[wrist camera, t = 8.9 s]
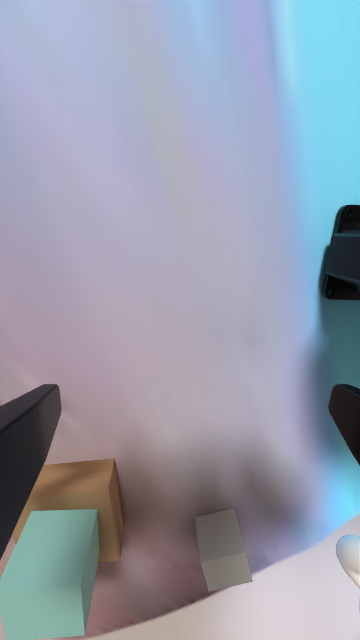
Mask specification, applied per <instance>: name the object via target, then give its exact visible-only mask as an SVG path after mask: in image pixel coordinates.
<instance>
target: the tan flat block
mask: <svg viewBox="0 0 360 640" xmlns="http://www.w3.org/2000/svg"><path fill="white" fill-rule="evenodd" d="M81 509H98V529H99V549H100V555H99V560H98V563H104V562H113V561H120V558H121V549H122V541H123V532H124V518H123V512H122V505H121V499H120V492H119V485H118V479H117V472H116V466H115V459H105V460H94V461H84V462H73V463H62V464H52V465H43V467H42V470H41V472H40V474H39V476H38V478H37V481H36V483H35V485H34V487H33V489H32V492H31V494H30V496H29V498H28V500H27V503H26V505H25V507H24V509H23V511H22V514H21V516H20V518H19V520H18V522H17V525H16V527H15V529H14V531H13V533H12V534H13V537H14V541H15V544H17V542H18V540H19V537H20V535H21V533H22V531H23V529H24V526H25V524H26V522H27V520H28V518H29V515H30V513H31V511H50V510H81Z"/></svg>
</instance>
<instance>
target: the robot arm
mask: <svg viewBox="0 0 360 640" xmlns="http://www.w3.org/2000/svg"><path fill="white" fill-rule="evenodd" d="M346 210H348V215H347V216H346V215H345V211H346ZM325 272H326V274H325V279H324V284H323V289H322V295H323V297H325V298H327V299H335V300H360V205H345V206H342V207H341V208H340V209H339V211H338V215H337V220H336V225H335V229H334V234H333V236H332V238H331V243H330V248H329V253H328V258H327V263H326V268H325ZM329 290H332V292H331V294H329V295H328V292H329ZM328 408H329V412H330V415H331V416H332V418H333V420H334V422H335V424H336V426H337V427H338V429H339V431H340V433H341V435H342V436H343V438H344V440H345V442H346V444H347V446H348V447H349V449H350V451H351V453H352V454H353V456H354V457H355V459H356V461H357V462H358V464H359V465H360V389H359V388H356V387H354V386H351V385H348V384H336V385H334V386H333V388H332V392H331V397H330V401H329V405H328ZM60 415H61V400H60V390H59V386H58V385H57V384H44V385H42V386H40V387H38V388H36V389H34V390H32V391H30V392H28V393H26V394H24V395H22V396H20V397H18V398H16V399H14V400H12V401H10V402H8V403H6V404H4V405H2V406H0V560H1V558H2V555H3V553H4V551H5V549H6V547H7V544H8V542H9V540H10V538H11V536H12V533H13V531H14V529H15V527H16V525H17V522H18V520H19V518H20V516H21V514H22V511H23V509H24V507H25V505H26V503H27V500H28V498H29V496H30V494H31V492H32V489H33V487H34V485H35V483H36V481H37V478H38V476H39V474H40V472H41V470H42V467H43V465H44V463H45V460H46V457H47V455H48V452H49V449H50V445H51V442H52V439H53V436H54V433H55V430H56V427H57V424H58V421H59V418H60Z"/></svg>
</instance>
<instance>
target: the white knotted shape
mask: <svg viewBox="0 0 360 640" xmlns="http://www.w3.org/2000/svg"><path fill="white" fill-rule="evenodd" d="M336 554H337V557H338V559H339V561H340V563H341V565H342V567H343V569H344V570H345V572H346V573H347V574H348V575H349V577H350V578H351V579H352V580H353V581H354V583H355V584H356V585H357V586H358V587H359V588H360V537H358V536H354V535H348V536H343V537H341V538H340V539H339V541H338V542H337V544H336Z"/></svg>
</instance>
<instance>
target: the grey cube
mask: <svg viewBox="0 0 360 640" xmlns="http://www.w3.org/2000/svg"><path fill="white" fill-rule="evenodd" d="M195 524H196V532H197V540H198V548H199V556H200V563H201V566H202V570H203V573H204V577H205V580H206V583H207V587H208V590H209V592H210V591H214V590H218V589H223V588H227V587H231V586H235V585H240V584H244V583H248V582H252V576H251V572H250V567H249V562H248V557H247V553H246V549H245V545H244V542H243V538H242V534H241V531H240V527H239V523H238V520H237V516H236V512H235V509H234V508H232V509H228V510H224V511H219V512H215V513H211V514H206V515H202V516H198V517H195Z"/></svg>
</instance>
